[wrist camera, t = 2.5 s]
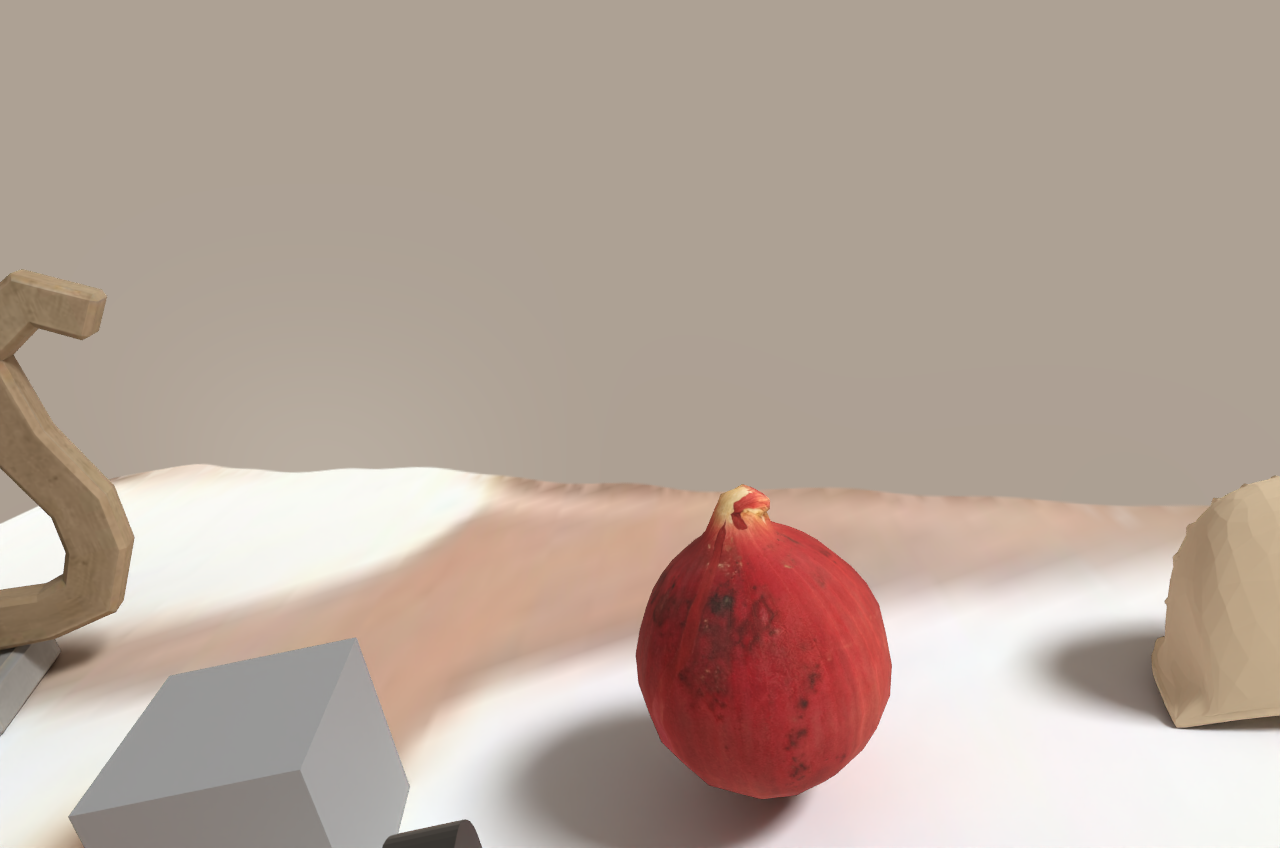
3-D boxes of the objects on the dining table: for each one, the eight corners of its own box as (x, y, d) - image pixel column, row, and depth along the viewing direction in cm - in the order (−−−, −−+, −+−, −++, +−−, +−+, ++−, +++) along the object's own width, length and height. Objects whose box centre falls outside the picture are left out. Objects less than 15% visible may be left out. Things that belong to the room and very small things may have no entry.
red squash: (865, 912, 19) (811, 577, 16) (628, 844, 22) (549, 551, 19) (931, 728, 24) (898, 442, 21) (727, 693, 27) (675, 438, 24)
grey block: (157, 987, 21) (68, 816, 19) (236, 824, 26) (169, 676, 24) (370, 944, 21) (300, 769, 19) (411, 788, 26) (356, 637, 24)
